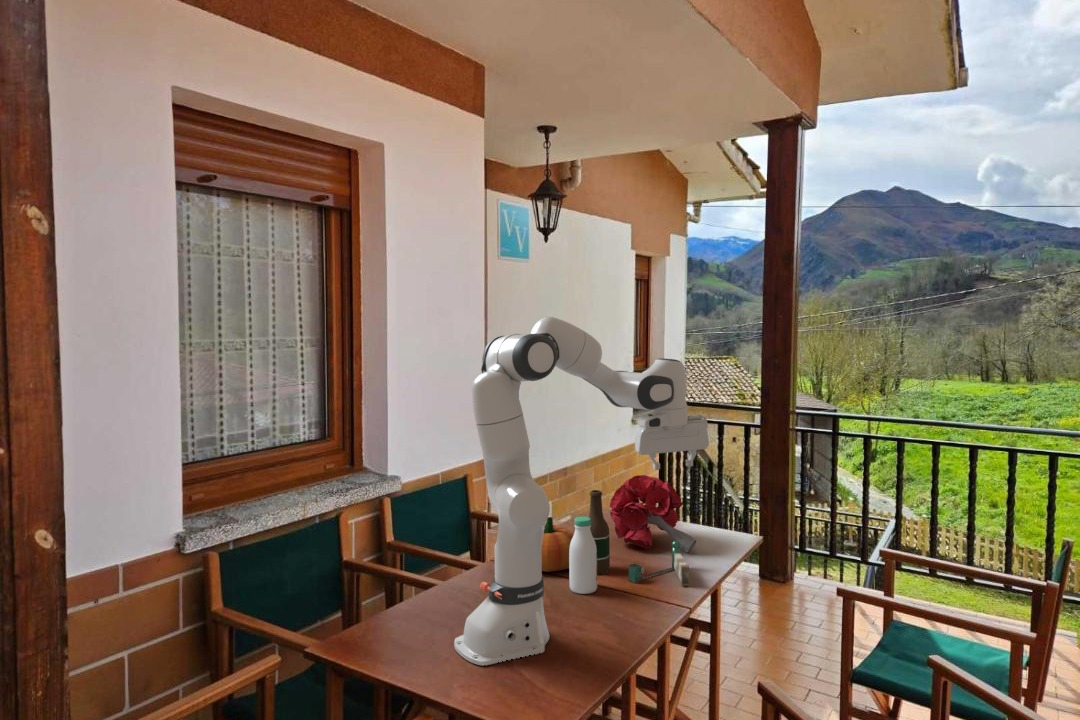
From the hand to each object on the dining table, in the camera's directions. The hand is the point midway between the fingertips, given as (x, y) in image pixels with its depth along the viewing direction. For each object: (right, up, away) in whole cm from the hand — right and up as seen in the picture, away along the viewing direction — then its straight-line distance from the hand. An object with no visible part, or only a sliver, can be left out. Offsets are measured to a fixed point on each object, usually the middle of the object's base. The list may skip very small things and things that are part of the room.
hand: (673, 467), depth 184 cm
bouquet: (+1, -32, +38) cm, 50 cm away
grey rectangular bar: (+4, -33, +10) cm, 35 cm away
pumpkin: (-34, -34, +23) cm, 53 cm away
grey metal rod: (-2, -34, +14) cm, 36 cm away
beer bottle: (-19, -34, +18) cm, 43 cm away
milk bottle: (-24, -35, +4) cm, 42 cm away
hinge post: (+5, -33, +18) cm, 38 cm away
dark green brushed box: (-9, -34, +9) cm, 36 cm away
